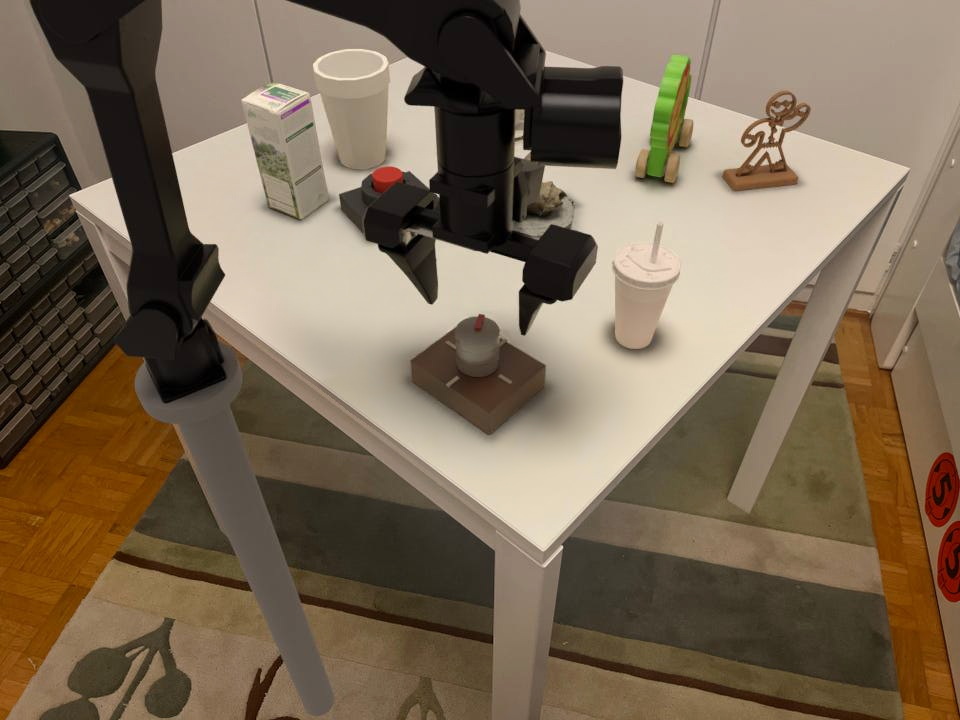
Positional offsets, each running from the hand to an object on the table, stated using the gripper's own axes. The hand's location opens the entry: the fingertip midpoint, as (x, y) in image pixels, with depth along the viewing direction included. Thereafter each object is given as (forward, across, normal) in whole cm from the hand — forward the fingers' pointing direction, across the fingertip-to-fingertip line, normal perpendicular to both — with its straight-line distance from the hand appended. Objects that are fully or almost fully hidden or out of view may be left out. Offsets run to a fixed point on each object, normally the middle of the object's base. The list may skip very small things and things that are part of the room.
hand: (478, 316), depth 66 cm
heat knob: (+6, 0, 0) cm, 6 cm away
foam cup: (+9, +34, -31) cm, 47 cm away
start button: (+5, +23, -21) cm, 32 cm away
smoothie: (+9, -11, -13) cm, 19 cm away
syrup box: (+9, +35, -18) cm, 40 cm away
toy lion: (+9, -3, -48) cm, 49 cm away
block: (+9, +23, -21) cm, 33 cm away
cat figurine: (+9, +7, -28) cm, 30 cm away
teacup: (+9, +21, -48) cm, 53 cm away
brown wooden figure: (+9, -16, -50) cm, 53 cm away
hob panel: (+9, 0, 0) cm, 9 cm away
